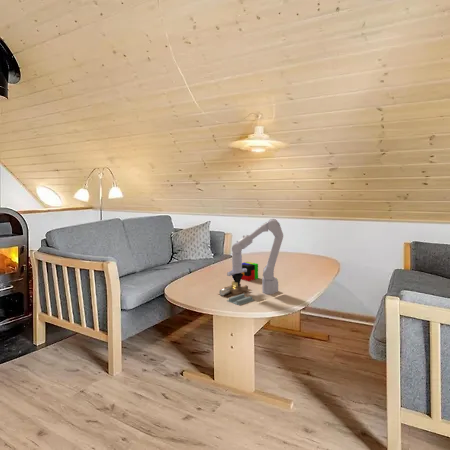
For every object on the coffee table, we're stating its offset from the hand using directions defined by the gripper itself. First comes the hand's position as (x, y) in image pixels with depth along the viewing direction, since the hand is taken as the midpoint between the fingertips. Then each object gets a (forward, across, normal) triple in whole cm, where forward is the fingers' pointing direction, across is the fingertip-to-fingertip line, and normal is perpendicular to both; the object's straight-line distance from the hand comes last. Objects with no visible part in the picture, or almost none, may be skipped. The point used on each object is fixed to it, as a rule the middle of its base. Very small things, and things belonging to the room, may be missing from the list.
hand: (237, 285), depth 220 cm
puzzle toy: (+5, -27, -18) cm, 33 cm away
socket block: (+4, +2, 0) cm, 5 cm away
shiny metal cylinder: (+4, +8, 0) cm, 9 cm away
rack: (+4, +10, +13) cm, 17 cm away
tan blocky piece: (+3, +3, 0) cm, 4 cm away
